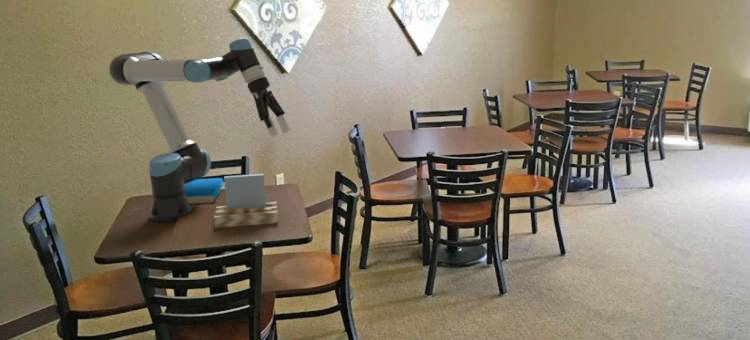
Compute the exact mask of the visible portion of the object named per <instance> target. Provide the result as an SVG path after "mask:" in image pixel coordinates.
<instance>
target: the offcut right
mask: <svg viewBox="0 0 750 340" xmlns="http://www.w3.org/2000/svg"><path fill="white" fill-rule="evenodd" d="M268 211H272V209H271V207H267V208H255V209H249V213H256V212H268Z"/></svg>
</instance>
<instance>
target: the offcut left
mask: <svg viewBox="0 0 750 340" xmlns="http://www.w3.org/2000/svg"><path fill="white" fill-rule="evenodd" d="M243 213H244V210H243V208H238V209H226V210H218V212H217V214H218V216H219V215H231V214H243Z"/></svg>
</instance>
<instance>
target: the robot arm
mask: <svg viewBox="0 0 750 340" xmlns="http://www.w3.org/2000/svg"><path fill="white" fill-rule="evenodd" d="M228 48H229V51H228V52H227V53H225V54H224V55H222V56H217V57H216V56H215V57H210V58H203V59H201V58H200V59H163V58H162V57H161V56H160V55H159V54H157V53H156V52H152V51H141V52H135V53H134V52H133V53H132V52H131V53H124V54H120V55H117V56H116V57H113V59H112V60H111V61H110V63H109V69H108V72H109V75H110V77H111V78H112V80H113V81H114V82H116V83H118V84H119V85H123V86H133V85H134V87H135V88H136V91H137V92H139V93H141V94H143V96H144V98H145V100H146V101H147V104H148V106H149V109H150V111H151V112H152V114H153V116H154V119H155V120H156V123H157V125H158V127H159V128H160V131H161V133H162V135H163V138H164V139H165V141H166V143H167V145H168V148H169V152H167V153H164V154H159V155H156V156H154V157H153V158H151V159H150V161H149V164H148V168H149V169H148V172H149V178H150V185H151V193H152V203H151V205H150V206H151V207H150V211H149V216H150V220H151V221H153V222H156V223H157V222H158V223H173V222H177V221H178V220H179V218H181V217H184V216H187V215H189V214H190V213H191V212H192V206H191V204H189V202H188V200H187V198H186V195H185V189H184V184H186V183H189V182H191V181H194V180H197V179H202V178H203V177H205V176H206V175H208V173H209V172H210V170H211V166H212V160H211V157H210V153H208V151H207V150H206V149H204V148H201V147H200V146H199V145H198V144H197V142H196V141H194V140H192V139H191V138H190V136H189V133H188V132H187V129H186V127H185V125H184V123H183V121H182V119H181V117H180V115H179V113H178V111H177V108H176V106H175V105H174V102H173V100H172V99H171V96H170V94H169V92H168V90H167V88H166V86H165V85H166V82H191V83H195V84H196V83H199V84H200V83H204V82H207V81H216V82H222V81H224V80H227V79H228V78H229V77H231V76H233V75H235V74H236V73H238V72H239V71H240V73H241V75H242V79H244V83H245V84H246V85H247V88H248V90H249V92H250V94H251V95H252V97H253V100H254V102H255V106H256V109H257V114H258V118H259V121H260V122H263V123H264V124H265V127H266V129H267V131H268V133H269V135H270V137H271V138H274V137H276V136H278V135H279V132H278V130H277V127H276V125H275V122H274V121H273V119H272V117H271V116H270V112H269V111H270V110H271V111H272V112H273V114H274V115H275V116H276V118H275V119H276V120H277V122H278V125H279V128H281V131H282V133H283V134H287V133H289V132H290V131H291V129H290V126H289V125H288V122H287V120H286V118H285V116H284V115H286V112H285V111H284V110H283V108H282V107H281V105H280V103H279V102H278V100H277V99H276V97H275V96H274V94H273V91H272V90H269V91H268V88H270V85H271V84H270V82H269V80H268V78H267V77H266V76H265V72H264V67H263V66H262V65H261V63H260V62H259V59H258V57H257V54H256V52H255V49H254V47H253V46H252V43H251V41H250V40H249V39H248V38H247V37H240V38H238V39H235V40H233V41H231V42H230V43H229V45H228ZM269 109H270V110H269Z"/></svg>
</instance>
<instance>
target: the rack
mask: <svg viewBox="0 0 750 340" xmlns="http://www.w3.org/2000/svg"><path fill="white" fill-rule="evenodd" d="M277 203H278V202H277V201H270V202H266V207H261V208H267V207H271V209H272V211H268V212H256V213H249V209H255V208H249V209H243V210H244V213H243V214H231V215H219V216H218V214H217V212H218V210H226V209H227V205H221V206H220V205H219V206H216V210H215V212H214V214H215V215H214V217H213V218H214V219H213V220H214V227H215V229H218V228H219V229H220V228H230V227H243V226H244V227H245V226H255V225H267V224H278V223H279V216H278V205H277Z"/></svg>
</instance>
